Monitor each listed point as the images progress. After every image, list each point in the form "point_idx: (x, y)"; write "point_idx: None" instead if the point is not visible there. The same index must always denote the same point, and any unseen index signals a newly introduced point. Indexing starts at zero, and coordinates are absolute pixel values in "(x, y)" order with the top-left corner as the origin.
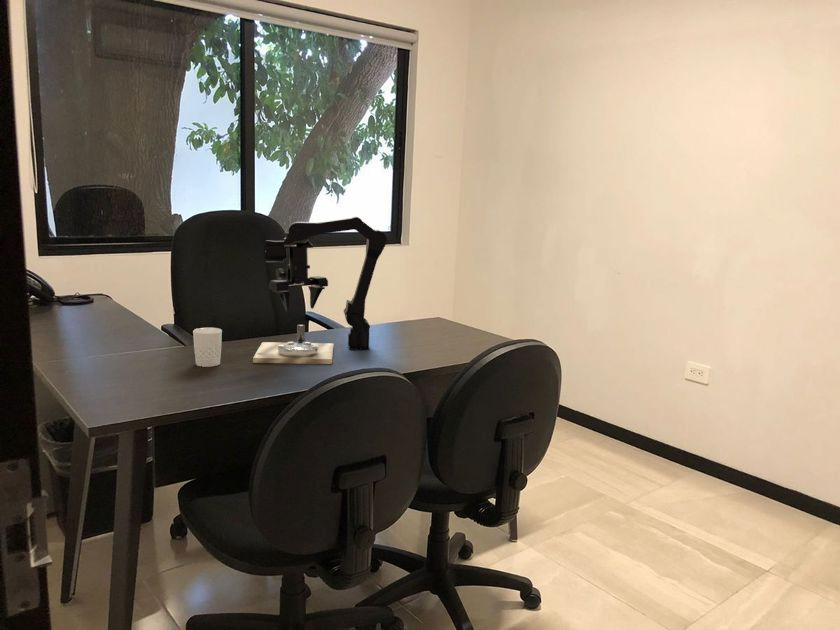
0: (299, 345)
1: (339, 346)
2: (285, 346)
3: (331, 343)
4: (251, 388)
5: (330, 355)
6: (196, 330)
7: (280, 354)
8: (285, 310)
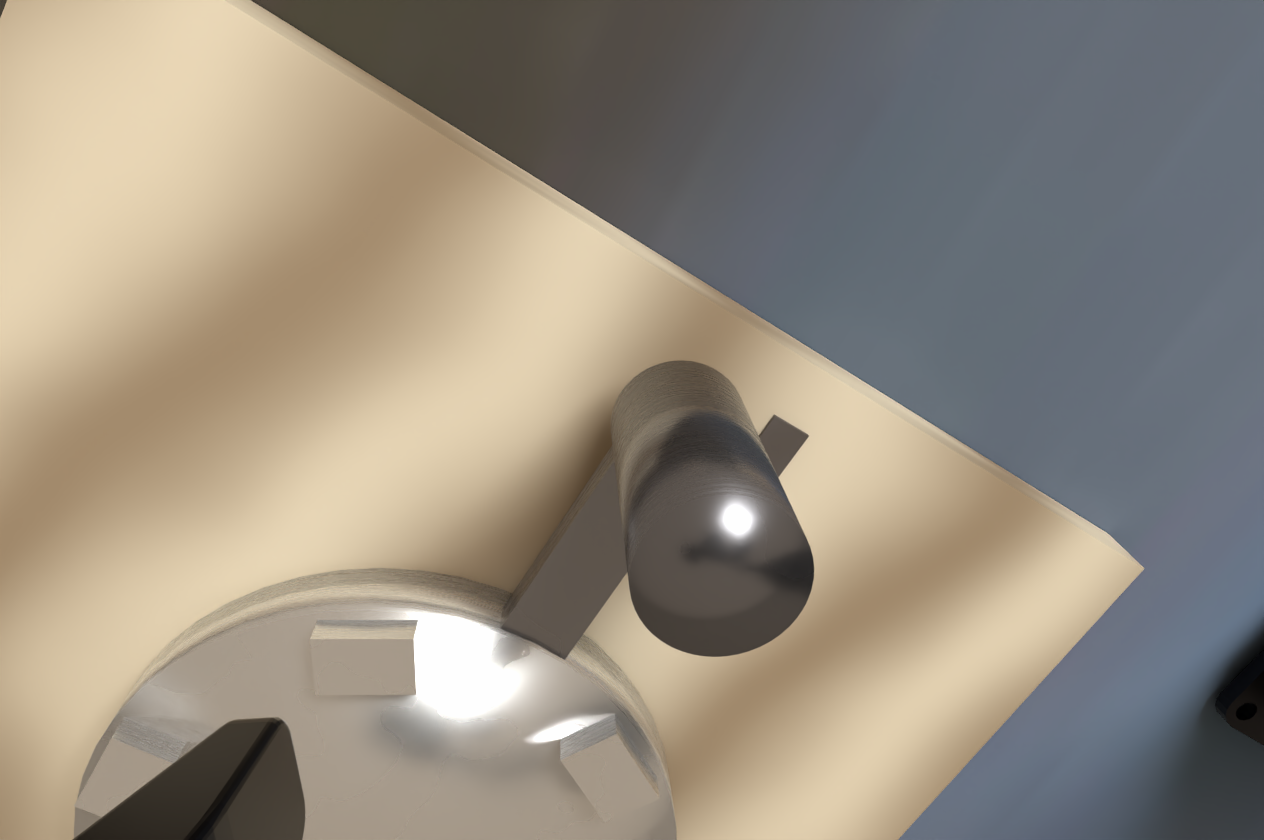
0: (460, 768)
1: (1239, 492)
2: None
3: (1118, 556)
4: None
5: None
6: None
7: None
8: (213, 736)
